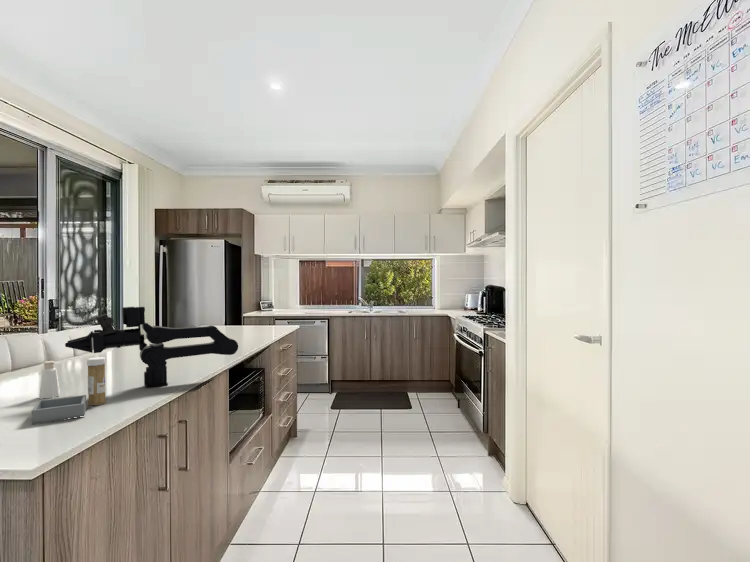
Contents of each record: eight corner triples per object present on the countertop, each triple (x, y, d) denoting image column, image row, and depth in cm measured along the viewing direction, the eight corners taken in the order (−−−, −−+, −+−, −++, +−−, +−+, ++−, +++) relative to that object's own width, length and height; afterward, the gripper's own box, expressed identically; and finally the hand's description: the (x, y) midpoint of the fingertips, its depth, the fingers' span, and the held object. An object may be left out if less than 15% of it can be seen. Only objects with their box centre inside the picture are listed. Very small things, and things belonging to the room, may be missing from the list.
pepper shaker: (57, 393, 142) (56, 359, 142) (62, 396, 139) (62, 361, 139) (36, 397, 138) (36, 361, 138) (41, 399, 135) (41, 363, 135)
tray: (86, 407, 126) (86, 394, 126) (84, 417, 116) (84, 403, 116) (38, 413, 120) (37, 400, 120) (31, 424, 110) (31, 410, 110)
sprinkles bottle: (106, 404, 128) (105, 358, 128) (87, 407, 126) (87, 359, 126) (105, 401, 132) (105, 356, 132) (87, 403, 130) (86, 357, 130)
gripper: (121, 313, 155) (67, 317, 147) (122, 314, 139) (62, 319, 131) (122, 345, 155) (69, 350, 147) (124, 349, 139) (64, 356, 131)
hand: (66, 343), depth 139 cm, fingers open, 9 cm apart
